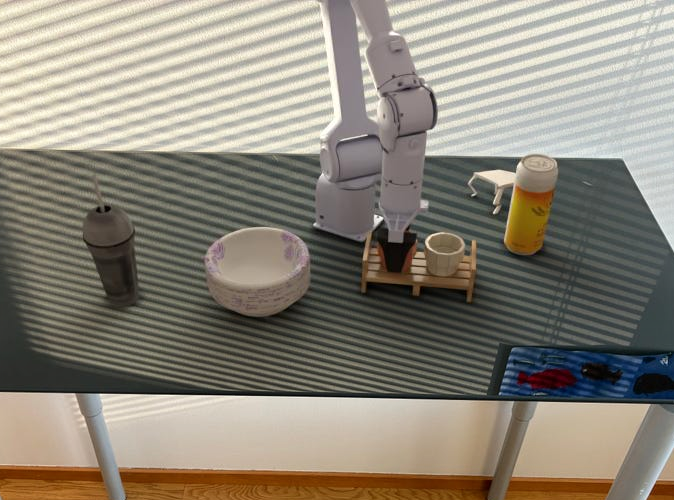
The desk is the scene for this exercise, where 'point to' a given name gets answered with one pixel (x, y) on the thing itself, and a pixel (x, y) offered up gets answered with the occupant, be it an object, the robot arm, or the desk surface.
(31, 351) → the desk surface
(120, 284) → the beverage cup
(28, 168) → the desk surface
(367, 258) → the bowl rack
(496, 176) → the white miniature table
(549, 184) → the beer can
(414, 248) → the terracotta bowl
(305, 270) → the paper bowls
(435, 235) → the cream bowl
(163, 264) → the desk surface
